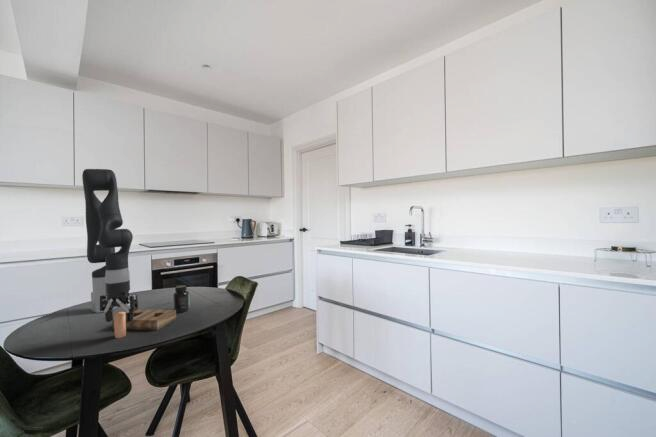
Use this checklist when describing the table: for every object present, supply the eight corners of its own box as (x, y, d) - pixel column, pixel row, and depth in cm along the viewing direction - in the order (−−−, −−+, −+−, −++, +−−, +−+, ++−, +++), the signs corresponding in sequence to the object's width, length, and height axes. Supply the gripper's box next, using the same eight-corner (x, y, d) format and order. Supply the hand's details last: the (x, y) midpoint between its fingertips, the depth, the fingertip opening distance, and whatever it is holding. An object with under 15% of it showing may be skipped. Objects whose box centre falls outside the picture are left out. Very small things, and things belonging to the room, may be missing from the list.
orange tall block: (112, 338, 107) (111, 315, 107) (120, 333, 111) (119, 311, 111) (120, 338, 107) (119, 315, 107) (128, 334, 110) (127, 311, 110)
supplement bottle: (192, 308, 139) (191, 284, 139) (184, 313, 132) (183, 288, 132) (179, 308, 140) (178, 284, 139) (170, 313, 133) (169, 288, 133)
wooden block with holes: (112, 329, 116) (112, 319, 116) (135, 318, 128) (135, 309, 127) (157, 330, 114) (157, 320, 114) (176, 318, 126) (175, 309, 125)
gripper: (92, 282, 105) (94, 325, 105) (126, 282, 104) (128, 325, 104) (109, 278, 113) (111, 317, 113) (142, 277, 111) (143, 318, 111)
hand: (119, 321), depth 108 cm, fingers open, 8 cm apart
